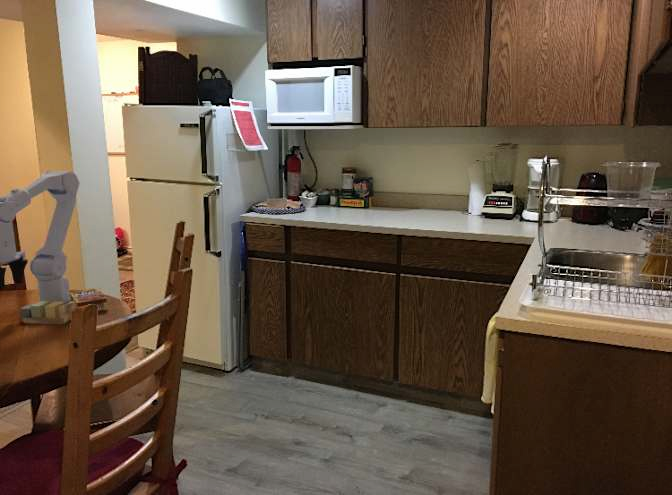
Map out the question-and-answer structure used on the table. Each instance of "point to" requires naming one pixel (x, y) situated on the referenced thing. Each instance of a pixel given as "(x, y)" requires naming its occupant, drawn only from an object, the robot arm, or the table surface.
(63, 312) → the tan l-frame
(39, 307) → the olive book
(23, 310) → the bookend
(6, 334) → the table surface
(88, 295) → the candy box
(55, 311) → the yellow thick square block
